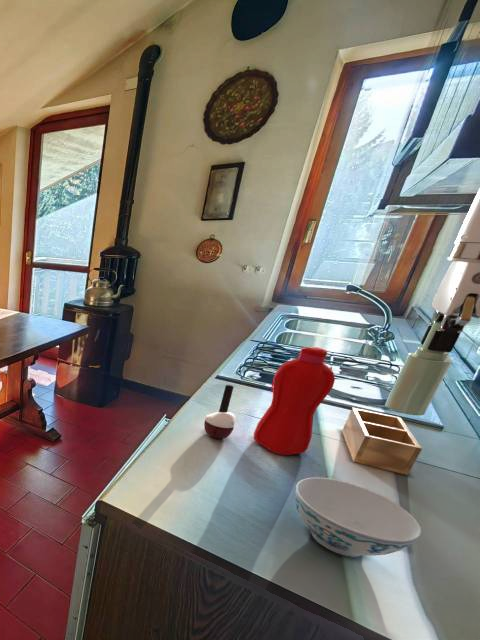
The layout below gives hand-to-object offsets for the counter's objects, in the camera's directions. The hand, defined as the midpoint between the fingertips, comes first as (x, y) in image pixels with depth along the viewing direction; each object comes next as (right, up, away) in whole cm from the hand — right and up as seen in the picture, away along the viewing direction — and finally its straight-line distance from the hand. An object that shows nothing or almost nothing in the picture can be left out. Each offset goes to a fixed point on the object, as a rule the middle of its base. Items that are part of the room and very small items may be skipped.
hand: (435, 347), depth 79 cm
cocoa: (-31, -21, +20) cm, 43 cm away
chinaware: (-32, -35, -12) cm, 48 cm away
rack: (+2, -23, +14) cm, 27 cm away
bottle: (0, -13, +6) cm, 14 cm away
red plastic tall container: (-20, -22, +16) cm, 34 cm away
